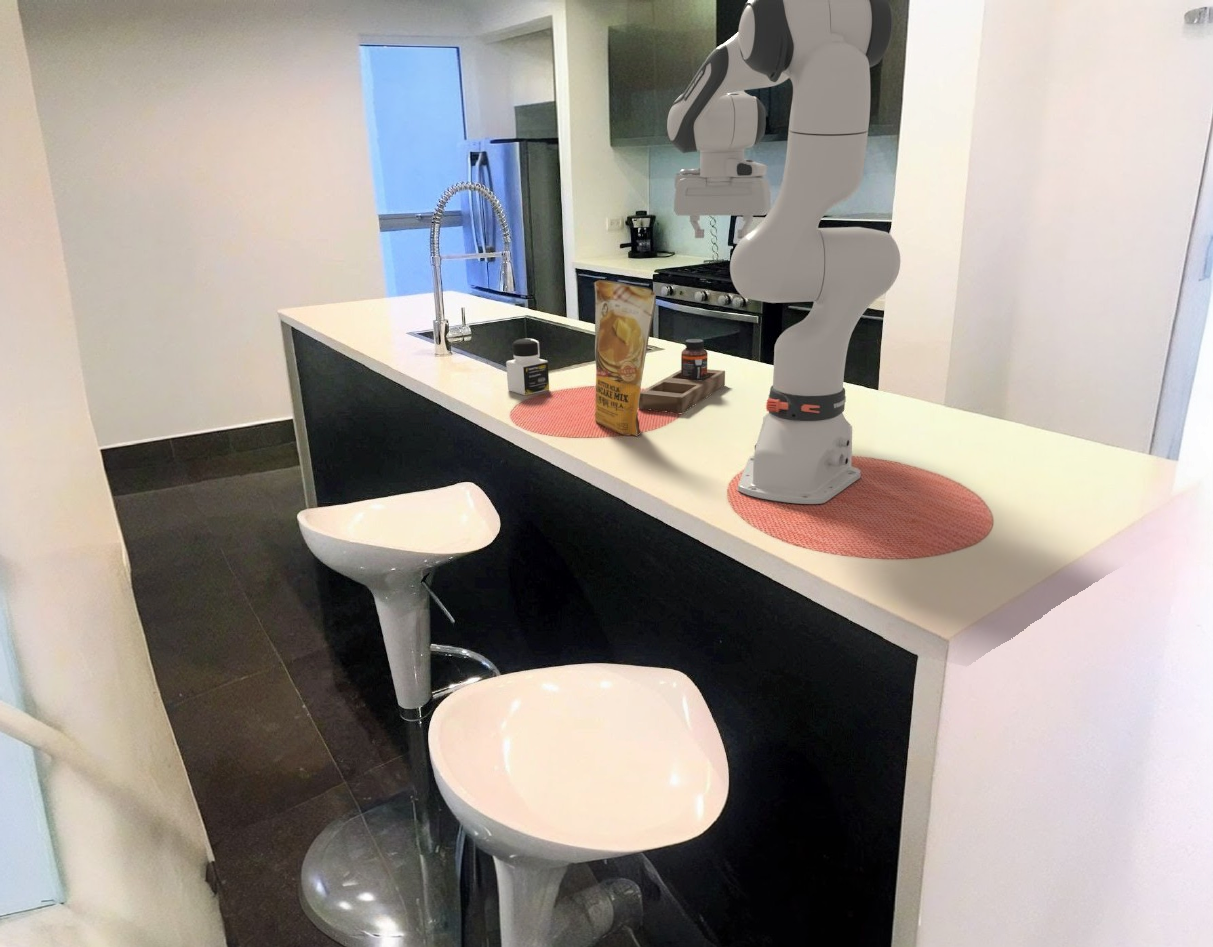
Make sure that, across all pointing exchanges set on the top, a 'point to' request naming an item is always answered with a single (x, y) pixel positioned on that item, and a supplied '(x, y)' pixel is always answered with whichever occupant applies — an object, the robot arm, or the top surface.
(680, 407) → the rail
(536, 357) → the medicine bottle
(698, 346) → the supplement bottle
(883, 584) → the top surface
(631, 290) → the pancake mix bag
